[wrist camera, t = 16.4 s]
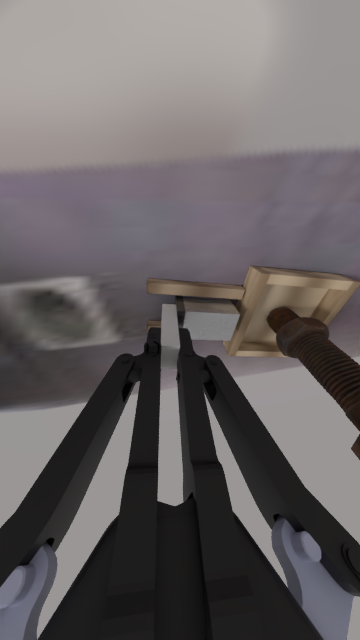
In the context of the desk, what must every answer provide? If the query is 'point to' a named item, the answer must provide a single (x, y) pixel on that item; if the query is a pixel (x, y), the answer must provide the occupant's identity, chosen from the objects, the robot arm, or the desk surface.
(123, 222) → the desk surface
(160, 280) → the socket
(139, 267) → the desk surface
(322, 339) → the bolt
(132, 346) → the desk surface
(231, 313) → the grey rectangular block
